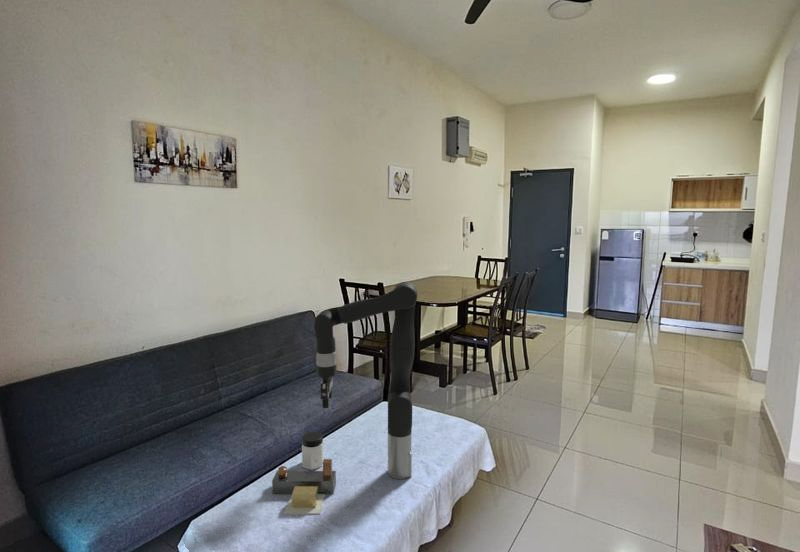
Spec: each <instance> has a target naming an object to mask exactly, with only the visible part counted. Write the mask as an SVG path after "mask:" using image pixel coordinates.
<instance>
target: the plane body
mask: <svg viewBox="0 0 800 552" xmlns="http://www.w3.org/2000/svg"><path fill="white" fill-rule="evenodd" d="M287 469H288V468H287V466H286V465H285V466H284V465H283V466H279V467H278V469H277V471H276V472H275V474H274V476H273V478H272V481H271V482H272V483H271V484H272V486H271V487H272V488H271V489H272V495H291V494H292V493H293V490H294V488H295V486H318V494H325V495H334V494H335V489H336V484H337V475H336V474H337V473H336V470H333V459H332V458H323V464H322V470H287Z"/></svg>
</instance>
